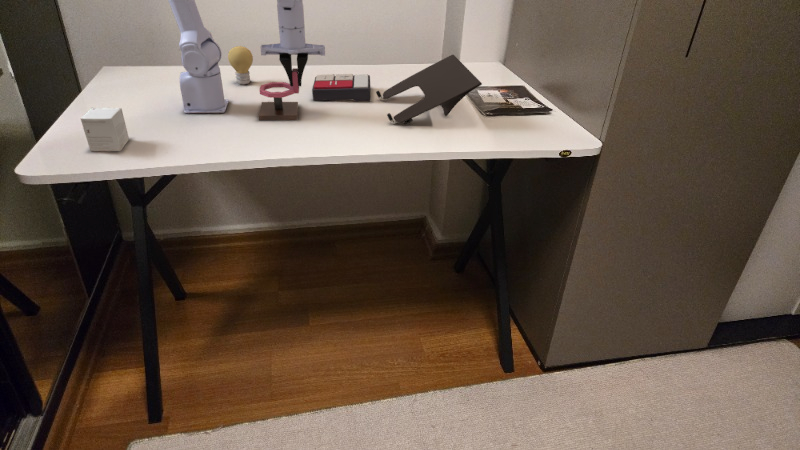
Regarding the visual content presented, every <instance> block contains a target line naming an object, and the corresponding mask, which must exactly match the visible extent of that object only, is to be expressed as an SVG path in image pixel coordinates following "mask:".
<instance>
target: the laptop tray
mask: <svg viewBox="0 0 800 450" xmlns="http://www.w3.org/2000/svg"><path fill="white" fill-rule="evenodd" d="M482 85H483V82H481V81H480V80H479V79H478V78H477V76H476V75H475V74H473V72H472V71H470V70H469V69H468V67H467V66H465V64H464V63H462V62H461V60H460V59H459V58H458V57H457V56H455V55H454V54H451V55H449V56H446V57H445V58H443V59H441V60H439V61H436V62H435V63H433V64H430V65H429V66H427V67H425V68H424V69H421V70H420V71H417V72H416V73H414V74H412V75H410V76H409V77H406V78H405V79H402V80H401V81H399V82H398V83H396V84H394V85H393V86H391V87H389V88H386V89H385V91H383V93H382V94H381V92H380V91H379V90H376V91H375V93H376V95H377V97H378V99H379V100H380V101H386V100H389V99H390V98H393V97H394V96H397V95H399V94H401V93H404V92H406V91H408V90H410V89H412V88H415V87H418V88H419V89H420V90H421V92H422V93H423V95H424V97H422V99H420V100H418V101H416V102H415V103H413V104H411V105H410V106H408V107H406V108H405V109H403V110H401V111H400V112H398V113H396V114H395V115H394V116H392V114H391V113H390V112H389V113H386V116H387V119H388V120H389V122H390V123H391V124H392V125H397V124H398V123H399V124H400V123H403V124H404V125H409V124H411V122H413V118H416V117H418V116H421V115H422V114H425V113H426V112H428V111H431V110H433V109H435V108H438V107H439V106H440V107H441V108H442V111H443V116H445V117H447V116H448V115H450V113H451V112H452V110H453V109H454V108H455V107H456V106H457V105H458V103H460V101H462V100H463V98H464V97H466V96H467V95H469V93H470V92H473V91H474V90H475V89H478V88H479V87H481V86H482Z"/></svg>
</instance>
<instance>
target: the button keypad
mask: <svg viewBox="0 0 800 450" xmlns="http://www.w3.org/2000/svg"><path fill="white" fill-rule="evenodd" d="M313 81H314V82H313V84H312V89H311V92H312V100H313V102H314V101H315V102H318V101H319V102H320V101H354V102H356V103H362V102H363V103H364V102H371V75H370V74H367V73H365V74H364V73H363V74H359V73H358V74H353V73H338V74H333V73H331V74H316V76H315V77H314V80H313Z"/></svg>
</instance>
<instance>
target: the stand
mask: <svg viewBox="0 0 800 450" xmlns="http://www.w3.org/2000/svg"><path fill="white" fill-rule="evenodd" d="M298 115H299V101H283V97H278V98H273V101H261V103H260V108H259V112H258V121H298Z"/></svg>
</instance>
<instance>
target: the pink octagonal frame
mask: <svg viewBox="0 0 800 450" xmlns="http://www.w3.org/2000/svg"><path fill="white" fill-rule="evenodd" d="M292 78H293V86H290V82H289V83H288V82H285V81H270V82H267V83H264V84H261V85H259V90H258V91H259V94H260V95H261V96H264V97H266V98H273V99H274V98H278V97H282V98H286V97H290V96H292V95H294V94H300V86H298V67H297V68H295V67H292ZM272 88H284V89H286V90H284V91H269V90H270V89H272Z"/></svg>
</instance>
